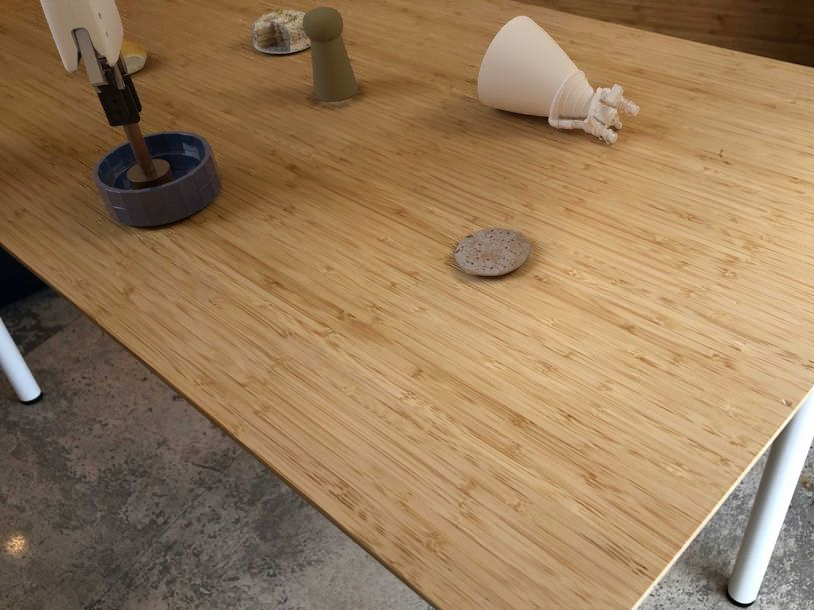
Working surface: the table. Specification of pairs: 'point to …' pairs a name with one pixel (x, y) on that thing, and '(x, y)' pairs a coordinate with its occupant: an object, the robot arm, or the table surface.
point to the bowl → (167, 201)
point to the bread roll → (133, 56)
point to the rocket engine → (545, 82)
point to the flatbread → (492, 251)
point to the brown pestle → (145, 162)
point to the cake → (280, 32)
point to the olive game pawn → (329, 55)
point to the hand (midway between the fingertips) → (126, 117)
